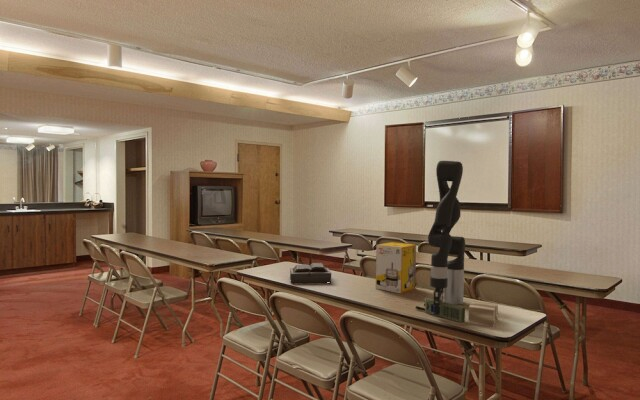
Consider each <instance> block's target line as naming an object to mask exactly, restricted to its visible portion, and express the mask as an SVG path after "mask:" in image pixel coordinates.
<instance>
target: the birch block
mask: <svg viewBox="0 0 640 400" xmlns="http://www.w3.org/2000/svg"><path fill="white" fill-rule="evenodd" d="M498 309H499V304H498V303H493V302H485V301H477V300H473V302H471V304H470V305H469V306H468V315H467V316H468V324H475V325H479V326H480V325H481V326H485V327H486V326H488V327H494V326H495V325H496V322H497V321H498V314H499V313H498V312H499V311H498Z"/></svg>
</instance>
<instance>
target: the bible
mask: <svg viewBox="0 0 640 400" xmlns="http://www.w3.org/2000/svg"><path fill="white" fill-rule="evenodd" d="M289 270H290V271H289V272H290V273H289V274H290V275H289V279H290V280H291V281H290V284H291V283H327V282H330V283H329V284H332V272H331V270H330V268H328V267H325V266H324V264H323V263H322V262H313V263H311V264H310V265H309V264H306V263H304V264H295V266H294V267H290V268H289Z"/></svg>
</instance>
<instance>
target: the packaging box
mask: <svg viewBox="0 0 640 400" xmlns="http://www.w3.org/2000/svg"><path fill="white" fill-rule="evenodd" d="M375 246H376V249H375V250H376V251H375V252H376V255H375V258H376V259H375V289H376V290H379V289H381V290H380V291H385V290H386V291H387V292H390V291H391V292H392V293H397V294H403V293H406V292H409V291H411V290H412V291H413V290H415V289H416V270H417V269H416V265H417V260H416V259H417V244H413V243H412V244H411V243H402V242H390V241H389V242H385V243H380V244H376V245H375Z"/></svg>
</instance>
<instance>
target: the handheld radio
mask: <svg viewBox="0 0 640 400" xmlns="http://www.w3.org/2000/svg"><path fill="white" fill-rule="evenodd" d="M423 299H424V304H423V307H421V306H418V305H416V306H415V309H416V310H420V311H424V313H426V314H428V315H431V316H432V315H433V316H436V317H440V318H443V319H448V320H451V321H455V322H459V323H465V320H466V319H465V318H466V307H465V306H462V305H454V304H449V303H445V302H444V301H443V302H440V314H439V315H435V314H434V305H433V303H434V300H433V299H434V298H433V299H432V298H427V297H424V298H423ZM436 303H438V302H436Z"/></svg>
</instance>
